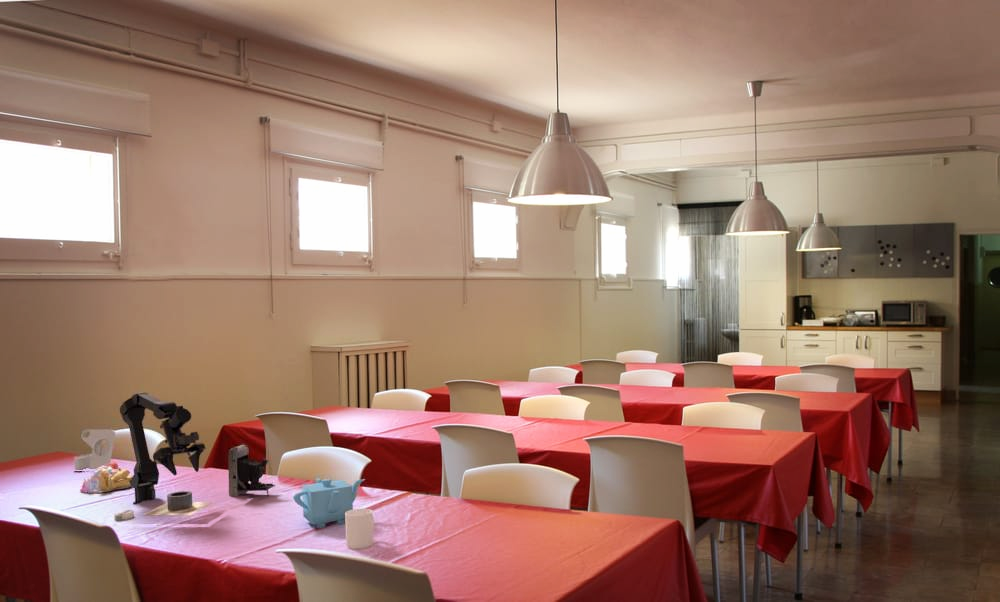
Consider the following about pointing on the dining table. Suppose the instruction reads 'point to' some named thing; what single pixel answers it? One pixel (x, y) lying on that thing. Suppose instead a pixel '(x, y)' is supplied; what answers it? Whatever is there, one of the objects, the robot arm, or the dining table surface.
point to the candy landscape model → (107, 479)
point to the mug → (359, 528)
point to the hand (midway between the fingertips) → (186, 473)
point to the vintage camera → (245, 472)
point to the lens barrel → (179, 500)
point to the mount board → (164, 510)
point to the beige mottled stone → (124, 515)
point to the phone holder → (96, 449)
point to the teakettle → (327, 500)
